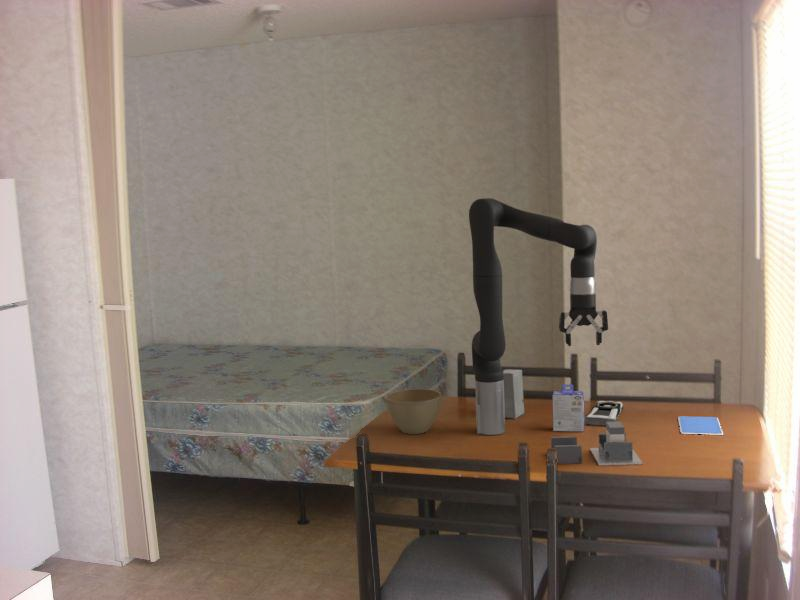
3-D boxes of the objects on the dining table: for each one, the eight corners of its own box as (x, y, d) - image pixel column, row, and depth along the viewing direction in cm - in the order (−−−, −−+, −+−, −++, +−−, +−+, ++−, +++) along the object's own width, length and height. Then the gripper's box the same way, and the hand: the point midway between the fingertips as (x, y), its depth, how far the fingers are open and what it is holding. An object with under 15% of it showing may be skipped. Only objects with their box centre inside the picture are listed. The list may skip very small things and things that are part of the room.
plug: (610, 458, 230) (610, 427, 228) (606, 451, 236) (605, 421, 234) (624, 458, 229) (624, 427, 228) (620, 451, 235) (619, 421, 234)
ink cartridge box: (584, 427, 264) (583, 383, 262) (584, 432, 258) (583, 387, 256) (553, 426, 266) (552, 383, 264) (552, 431, 260) (552, 387, 258)
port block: (598, 465, 226) (598, 446, 225) (589, 450, 240) (589, 431, 239) (642, 464, 225) (642, 444, 225) (631, 448, 239) (630, 430, 238)
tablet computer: (723, 437, 248) (723, 433, 247) (680, 436, 251) (680, 432, 251) (717, 420, 266) (717, 416, 266) (677, 419, 269) (677, 415, 269)
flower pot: (405, 421, 280) (403, 387, 279) (451, 426, 271) (450, 391, 269) (377, 435, 265) (375, 399, 263) (425, 441, 256) (423, 404, 254)
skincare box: (515, 419, 276) (514, 374, 274) (496, 417, 280) (495, 372, 278) (525, 413, 283) (524, 369, 281) (506, 411, 287) (505, 367, 285)
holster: (555, 463, 229) (555, 446, 228) (551, 453, 238) (550, 436, 238) (581, 463, 229) (581, 446, 228) (576, 452, 238) (576, 436, 237)
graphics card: (584, 417, 265) (597, 398, 288) (584, 427, 266) (597, 407, 288) (615, 419, 261) (626, 400, 284) (615, 429, 262) (626, 409, 284)
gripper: (560, 294, 239) (561, 348, 241) (609, 292, 238) (610, 346, 240) (557, 291, 246) (558, 343, 248) (604, 289, 245) (605, 342, 247)
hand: (583, 345), depth 244 cm, fingers open, 8 cm apart
